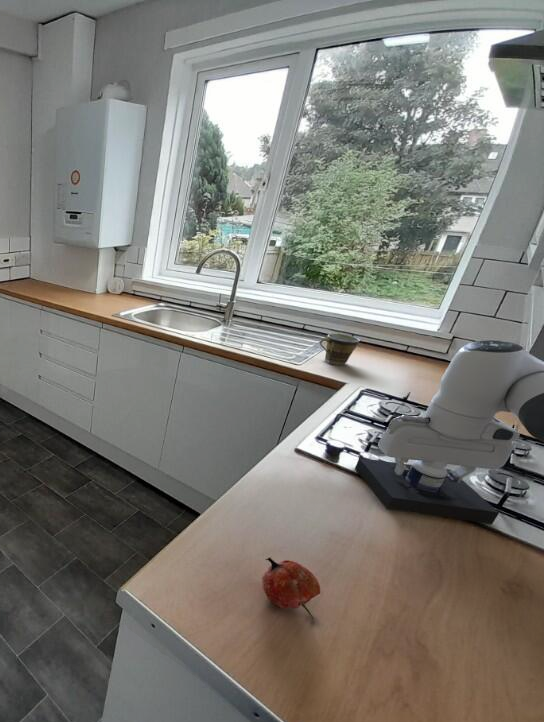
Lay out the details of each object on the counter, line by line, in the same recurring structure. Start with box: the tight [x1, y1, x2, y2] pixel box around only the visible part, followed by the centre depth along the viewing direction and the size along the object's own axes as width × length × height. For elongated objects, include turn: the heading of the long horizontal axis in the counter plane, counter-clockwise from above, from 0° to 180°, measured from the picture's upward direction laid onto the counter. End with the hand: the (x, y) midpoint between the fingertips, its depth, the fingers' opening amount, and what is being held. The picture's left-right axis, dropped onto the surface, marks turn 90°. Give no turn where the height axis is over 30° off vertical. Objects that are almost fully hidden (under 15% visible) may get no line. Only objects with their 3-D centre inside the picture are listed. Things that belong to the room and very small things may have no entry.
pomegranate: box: [261, 556, 321, 620], centre depth 63 cm, size 7×7×10 cm
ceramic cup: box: [319, 333, 361, 366], centre depth 155 cm, size 13×10×10 cm
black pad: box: [354, 458, 500, 525], centre depth 87 cm, size 18×14×3 cm
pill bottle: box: [405, 460, 448, 493], centre depth 86 cm, size 5×5×10 cm
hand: (425, 477), depth 86 cm, fingers open, 8 cm apart
